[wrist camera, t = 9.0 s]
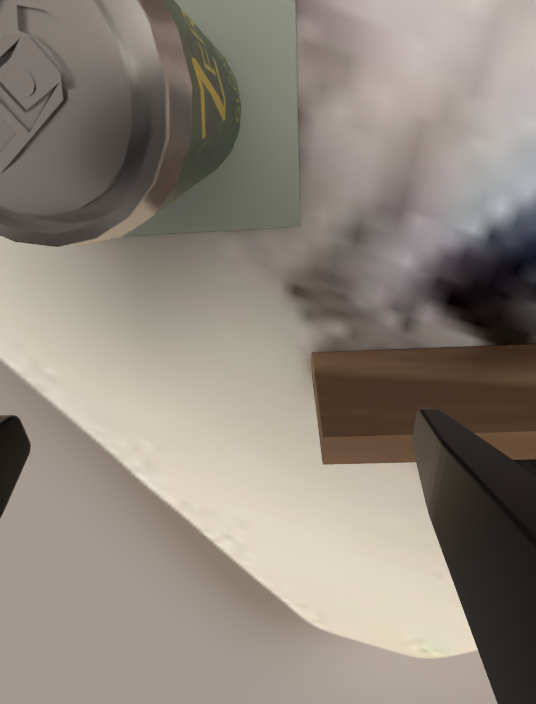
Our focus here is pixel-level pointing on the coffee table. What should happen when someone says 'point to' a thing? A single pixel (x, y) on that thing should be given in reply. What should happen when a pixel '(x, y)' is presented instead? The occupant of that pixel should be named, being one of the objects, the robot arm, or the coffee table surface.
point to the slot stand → (423, 399)
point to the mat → (247, 124)
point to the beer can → (105, 115)
